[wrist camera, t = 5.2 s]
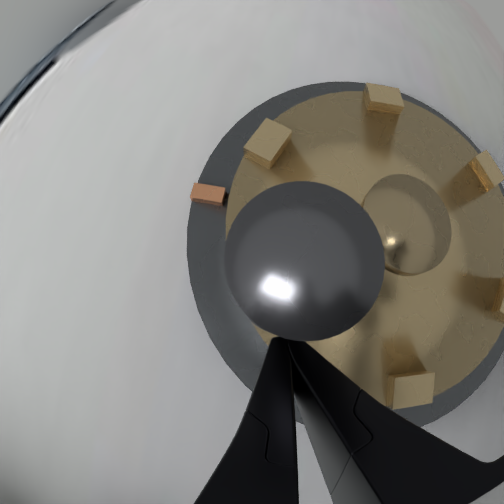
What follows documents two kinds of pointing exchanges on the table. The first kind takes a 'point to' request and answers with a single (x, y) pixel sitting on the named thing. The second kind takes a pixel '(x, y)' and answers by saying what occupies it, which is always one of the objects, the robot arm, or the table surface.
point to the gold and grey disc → (213, 246)
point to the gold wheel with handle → (370, 241)
